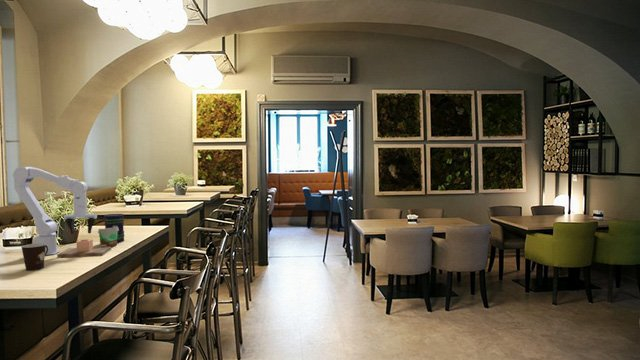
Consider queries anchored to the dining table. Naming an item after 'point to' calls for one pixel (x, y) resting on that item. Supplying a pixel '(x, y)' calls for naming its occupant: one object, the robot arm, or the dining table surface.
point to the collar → (84, 245)
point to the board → (94, 252)
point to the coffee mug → (34, 256)
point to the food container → (108, 236)
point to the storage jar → (115, 224)
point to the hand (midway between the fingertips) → (81, 233)
